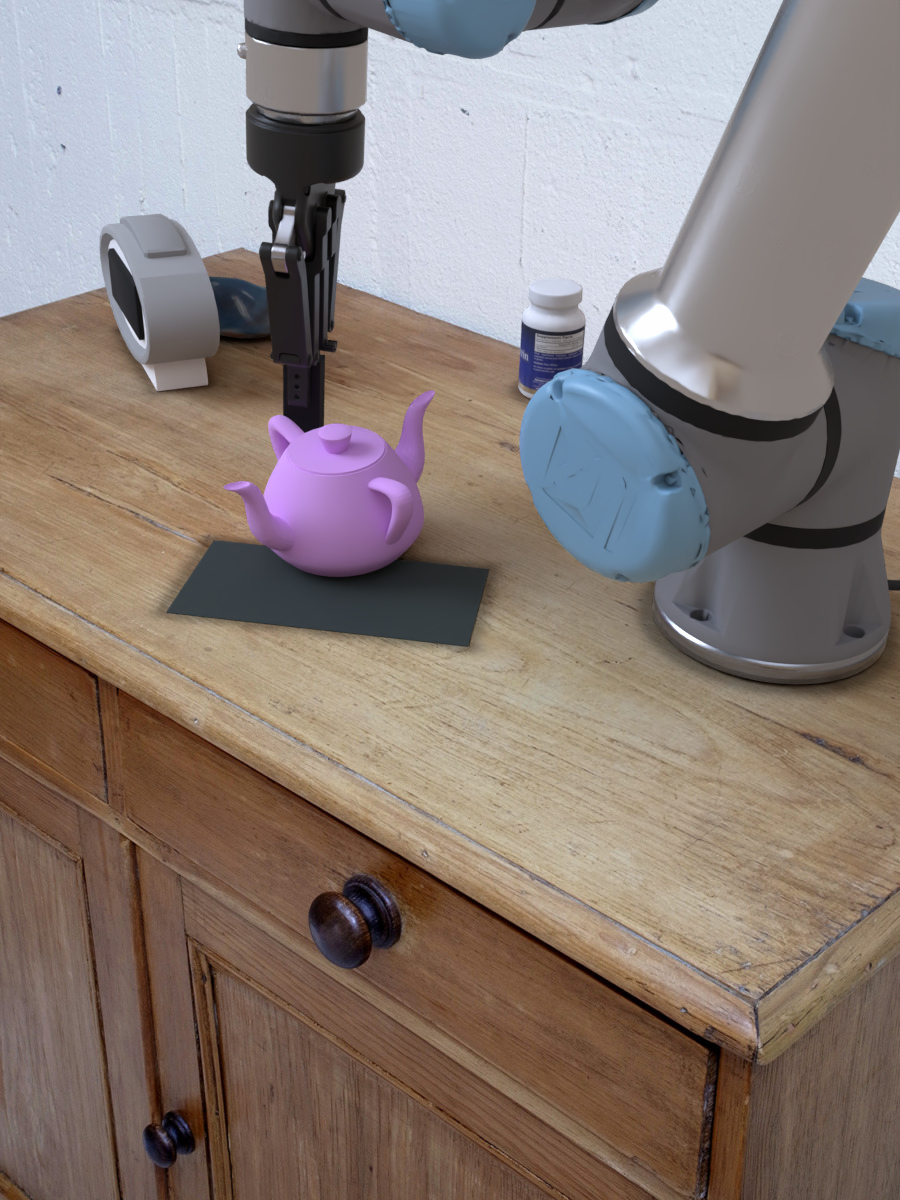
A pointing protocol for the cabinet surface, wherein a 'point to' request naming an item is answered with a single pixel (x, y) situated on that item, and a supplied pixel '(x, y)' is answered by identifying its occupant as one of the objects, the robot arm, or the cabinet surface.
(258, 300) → the seashell
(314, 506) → the teapot
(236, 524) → the cabinet surface
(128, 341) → the alarm clock
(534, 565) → the cabinet surface
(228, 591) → the mat
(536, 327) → the pill bottle
